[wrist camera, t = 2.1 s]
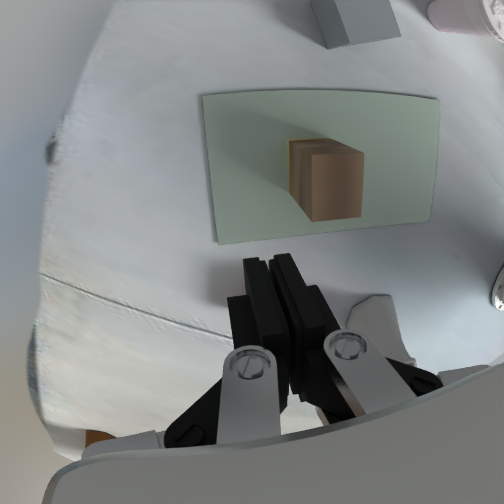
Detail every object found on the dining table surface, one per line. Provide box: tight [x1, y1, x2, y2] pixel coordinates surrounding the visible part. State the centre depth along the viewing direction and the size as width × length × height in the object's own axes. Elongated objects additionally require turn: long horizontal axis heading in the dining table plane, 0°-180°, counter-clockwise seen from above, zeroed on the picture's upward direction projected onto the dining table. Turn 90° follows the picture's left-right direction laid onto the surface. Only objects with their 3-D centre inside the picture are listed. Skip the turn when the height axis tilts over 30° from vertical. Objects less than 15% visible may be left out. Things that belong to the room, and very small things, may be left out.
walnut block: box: [287, 138, 364, 222], centre depth 25 cm, size 4×5×7 cm
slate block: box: [310, 0, 401, 49], centre depth 20 cm, size 5×5×5 cm
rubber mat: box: [202, 90, 440, 245], centre depth 29 cm, size 24×14×1 cm, turn 94°
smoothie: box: [427, 0, 504, 43], centre depth 16 cm, size 6×6×14 cm
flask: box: [346, 296, 417, 367], centre depth 35 cm, size 7×7×10 cm
